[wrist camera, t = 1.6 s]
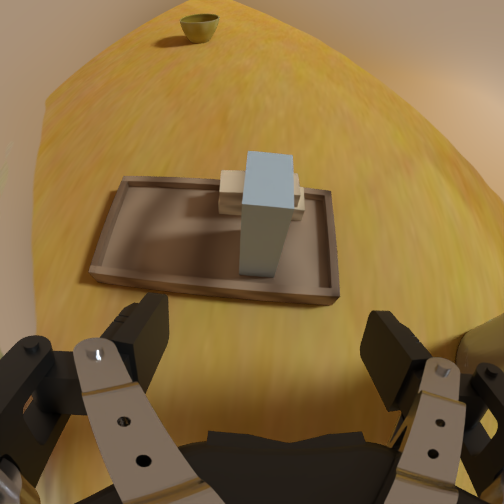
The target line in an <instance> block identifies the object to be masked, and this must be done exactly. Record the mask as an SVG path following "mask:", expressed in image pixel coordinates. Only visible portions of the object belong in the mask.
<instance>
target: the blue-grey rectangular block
mask: <svg viewBox="0 0 504 504" xmlns="http://www.w3.org/2000/svg"><path fill="white" fill-rule="evenodd" d="M293 212H294V177H293V155H285V154H276V153H266V152H255V151H248V156H247V165H246V173H245V182H244V190H243V199H242V214H241V236H240V259H239V275H247V276H259V277H271V278H274V276H275V272H276V269H277V266H278V263H279V259H280V256H281V253H282V249H283V246H284V243H285V239H286V236H287V232H288V229H289V226H290V222H291V219H292V215H293Z"/></svg>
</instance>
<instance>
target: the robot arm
mask: <svg viewBox="0 0 504 504" xmlns="http://www.w3.org/2000/svg"><path fill="white" fill-rule="evenodd" d="M168 339H169V311H168V297H167V295H166V294H158V293H150V292H148V293H147V294H146V295H145V296H144V298H143V299H142V300H141V301H140V303H132V304H131V305H129V306H127V307H125V308H124V309H123V310H122V311H121V312H120V314H119V316H117V317H116V318H115V319H114V322H112V323H111V324H110V326H109V327H108V328H107V329H106V330H105V332H104V333H103V334H102V335H101V337H100V338H89V339H86V340H83V341H81V342H79V343H78V344H77V345H76V346H75V347H74V350H73V352H69V351H53V349H52V346H51V343H50V341H49V340H48V339H47V338H46V337H43V336H37V335H35V336H28V337H25V338H23V339H21V340H20V341H18V342H17V343H16V344H15V345H14V346H13V347H12V348H11V349H10V350H9V351H8V352H7V353H6V354H5V355H4V356H3V357H2V358H1V360H0V504H41V502H40V497H39V495H38V493H37V491H36V489H35V488H36V485H37V483H38V481H39V479H40V476H41V474H42V472H43V470H44V468H45V466H46V463H47V461H48V459H49V457H50V455H51V453H52V451H53V449H54V447H55V445H56V443H57V441H58V439H59V437H60V435H61V433H62V431H63V429H64V427H65V425H66V423H67V421H68V419H69V417H70V416H71V414H72V415H88V418H89V421H90V424H91V427H92V430H93V433H94V436H95V439H96V442H97V445H98V447H99V450H100V453H101V455H102V458H103V460H104V463H105V465H106V468H107V470H108V472H109V475H110V477H111V479H112V481H113V484H112V485H110V486H108V487H106V488H105V489H103V490H101V491H99V492H97V493H95V494H93V495H91V496H89V497H87V498H85V499H83V500H81V501H79V502H77V503H75V504H504V313H503V314H501V315H499V316H497V317H495V318H494V319H491V320H489V321H488V322H486V323H484V324H482V325H480V326H478V327H476V328H474V329H471V330H470V331H468V332H467V333H466V334H465V335H464V337H463V338H462V340H461V342H460V344H459V348H458V351H457V358H456V365H455V364H454V363H453V362H451V361H450V360H448V359H445V358H441V357H432V355H431V354H430V353H429V352H428V351H427V349H426V348H425V347H424V346H423V345H422V343H421V342H419V340H418V339H417V337H415V335H414V334H413V333H412V332H411V330H410V329H409V328H407V327H406V326H404V325H403V324H401V323H400V322H399V321H398V320H397V319H396V318H395V316H394V315H393V314H392V313H391V312H390V311H374V310H373V311H371V313H370V314H369V317H368V321H367V324H366V328H365V331H364V334H363V338H362V341H361V345H360V356H361V359H362V361H363V362H364V364H365V366H366V368H367V370H368V372H369V374H370V376H371V378H372V380H373V382H374V384H375V386H376V388H377V390H378V392H379V394H380V396H381V398H382V401H383V403H384V405H385V407H386V409H387V411H388V412H390V411H397V410H401V414H400V416H399V418H398V420H397V422H396V425H395V427H394V430H393V432H392V434H391V437H390V439H389V441H388V444H387V446H384V445H380V444H377V443H371V442H365V439H364V436H363V434H362V432H352V433H340V434H327V435H323V436H319V437H315V438H311V439H307V440H303V441H298V442H294V443H285V442H280V441H275V440H271V439H266V438H262V437H257V436H253V435H249V434H237V433H225V432H215V431H208V438H207V441H204V442H196V443H190V444H186V445H182V446H180V447H177V446H176V445H175V443H174V442H173V440H172V439H171V437H170V436H169V434H168V432H167V431H166V429H165V428H164V426H163V424H162V423H161V421H160V419H159V418H158V416H157V414H156V413H155V411H154V409H153V408H152V406H151V404H150V402H149V401H148V399H147V397H146V395H145V394H146V391H147V389H148V387H149V385H150V382H151V380H152V378H153V375H154V373H155V371H156V369H157V366H158V364H159V362H160V360H161V357H162V355H163V353H164V351H165V348H166V346H167V344H168ZM31 395H32V397H33V400H32V402H31V403H30V405H29V406H28V408H27V409H26V411H25V412H24V414H23V407H24V405H25V403H26V401H27V400H28V399H29V397H30V396H31ZM488 408H489V410H490V411H491V413H492V414H493V415H494V417H495V418H496V420H497V422H498V429H497V432H496V434H495V435H494V436H493V438H492V439H490V437H489V435H488V434H487V432H486V431H485V429H484V427H483V426H482V424H481V423H480V420H481V419H482V417H483V416H484V414H485V413H486V411H487V410H488ZM460 458H461V461H462V463H463V465H464V467H465V469H466V471H467V473H468V475H469V478H470V480H471V482H472V484H473V486H474V489H475V491H476V493H477V496H478V497H476V496H474V495H472V494H470V493H468V492H466V491H465V490H463V489H461V488H459V487H457V486H455V481H456V476H457V471H458V466H459V461H460Z"/></svg>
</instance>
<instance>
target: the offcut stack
mask: <svg viewBox="0 0 504 504" xmlns="http://www.w3.org/2000/svg"><path fill="white" fill-rule="evenodd" d="M245 173H246V171H231V170H221V180H220V191H219V194H220V196H219V201H218V205H219V214H229V215H241V214H242V199H243V190H244V182H245ZM293 177H294V212H293V215H292V219H291V220H295V221H301V220H302V217H303V214H304V211H305V204H304V187H300V186H299V178H298V174H297V173H293Z"/></svg>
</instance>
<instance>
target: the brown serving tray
mask: <svg viewBox="0 0 504 504" xmlns="http://www.w3.org/2000/svg"><path fill="white" fill-rule="evenodd" d="M219 191H220V180H216V179H200V178H180V177H151V176H124V177H123V179H122V181H121V183H120V186H119V188H118V191H117V193H116V195H115V198H114V200H113V203H112V205H111V208H110V211H109V213H108V216H107V218H106V221H105V224H104V227H103V229H102V232H101V235H100V238H99V241H98V244H97V247H96V250H95V253H94V256H93V259H92V262H91V265H90V269H89V273H90V274H91V275H92V277H93V278H94V279H95V280H96V281H97V282H101V283H108V284H115V285H122V286H129V287H137V288H145V289H153V290H161V291H169V292H178V293H187V294H196V295H206V296H216V297H226V298H237V299H249V300H261V301H274V302H289V303H304V304H322V305H333V304H334V302H335V301H336V300H337V299H338V298H339V297H340V288H339V272H338V258H337V245H336V234H335V224H334V215H333V206H332V197H331V191H327V190H319V189H311V188H304V204H305V211H304V214H303V217H302V220H301V221H295V220H291V222H290V226H289V229H288V232H287V236H286V239H285V243H284V246H283V249H282V253H281V256H280V259H279V263H278V266H277V269H276V272H275V276H274V278H271V277H259V276H247V275H239V259H240V236H241V215H229V214H219V205H218V201H219V196H220V194H219Z"/></svg>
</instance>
